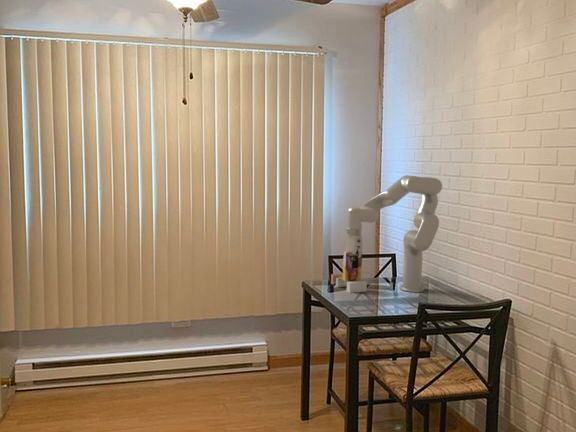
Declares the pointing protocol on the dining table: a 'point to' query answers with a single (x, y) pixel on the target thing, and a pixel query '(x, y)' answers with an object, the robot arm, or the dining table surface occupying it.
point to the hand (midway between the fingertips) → (352, 266)
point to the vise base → (356, 286)
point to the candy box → (348, 271)
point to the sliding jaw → (338, 280)
